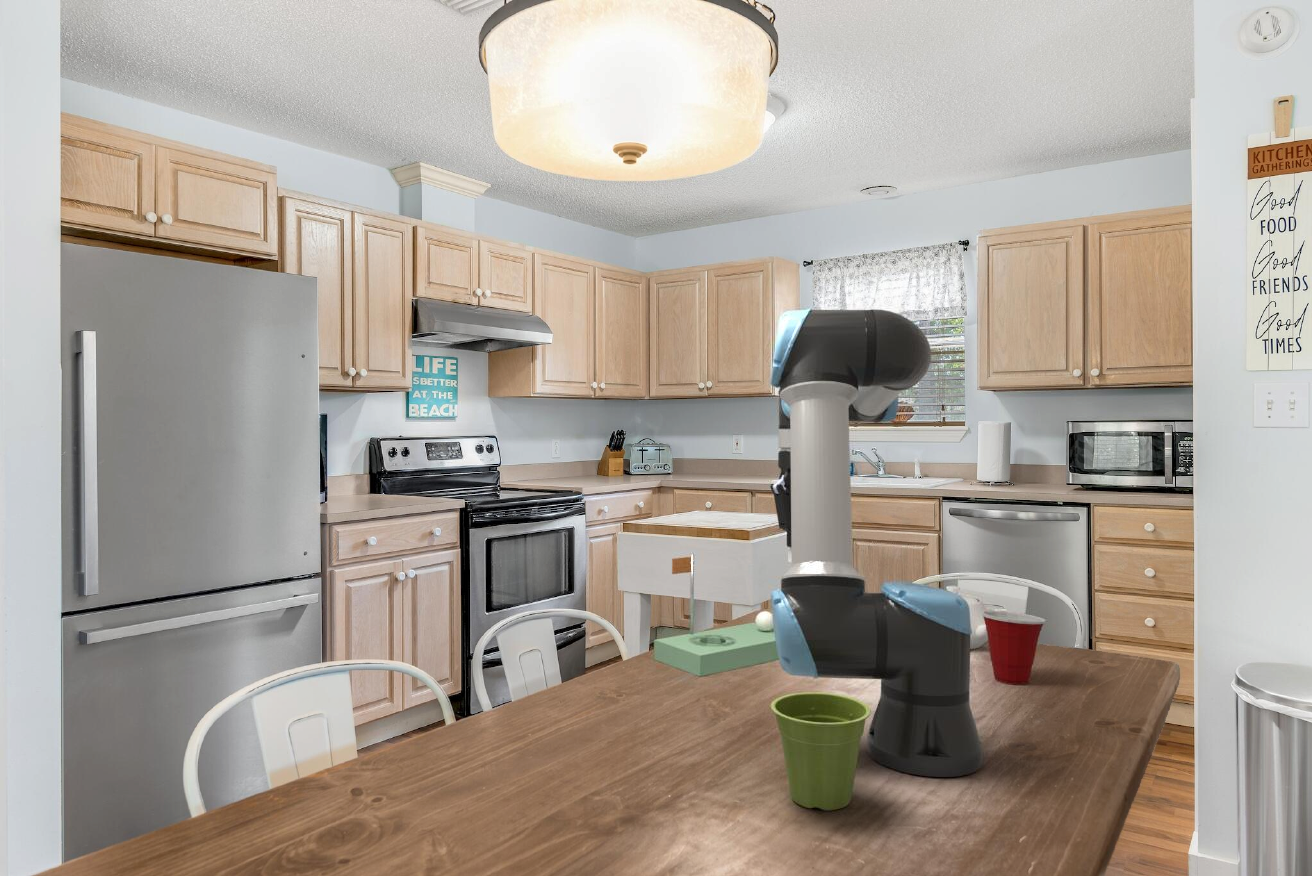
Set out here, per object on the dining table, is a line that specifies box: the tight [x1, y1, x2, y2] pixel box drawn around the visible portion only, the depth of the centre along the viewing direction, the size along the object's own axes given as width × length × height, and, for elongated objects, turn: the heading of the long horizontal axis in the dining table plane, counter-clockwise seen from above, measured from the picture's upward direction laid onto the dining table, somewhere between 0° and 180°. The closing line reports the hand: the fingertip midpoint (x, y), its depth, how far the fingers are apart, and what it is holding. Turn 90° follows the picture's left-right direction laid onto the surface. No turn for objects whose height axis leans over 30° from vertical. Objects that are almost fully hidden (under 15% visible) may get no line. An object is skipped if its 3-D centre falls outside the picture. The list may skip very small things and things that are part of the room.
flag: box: [671, 553, 695, 635], centre depth 169 cm, size 5×1×16 cm, turn 127°
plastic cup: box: [982, 610, 1047, 686], centre depth 154 cm, size 11×11×12 cm
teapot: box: [945, 585, 1009, 650], centre depth 179 cm, size 25×16×12 cm, turn 30°
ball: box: [755, 610, 774, 631], centre depth 174 cm, size 4×4×4 cm
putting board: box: [653, 622, 779, 677], centre depth 169 cm, size 32×14×4 cm, turn 127°
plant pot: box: [770, 691, 871, 812], centre depth 103 cm, size 12×12×11 cm
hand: (795, 562), depth 179 cm, fingers closed
